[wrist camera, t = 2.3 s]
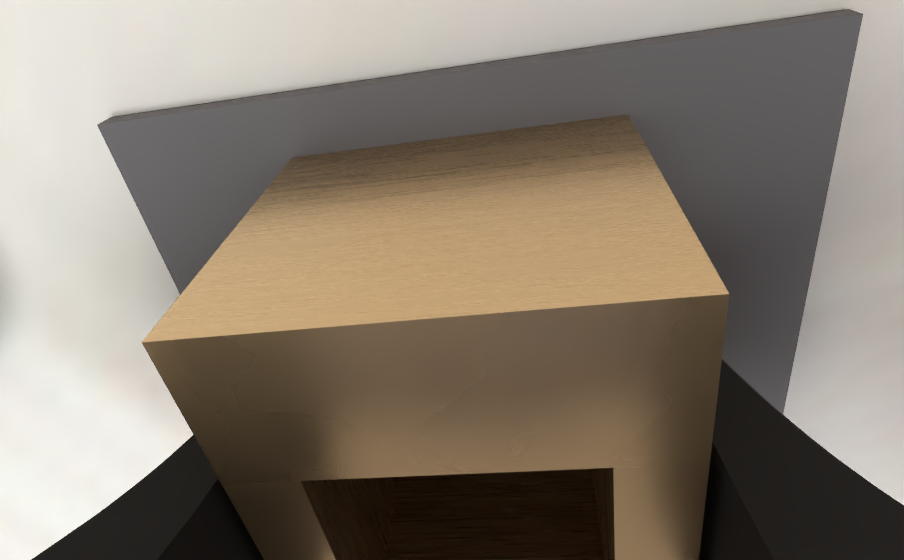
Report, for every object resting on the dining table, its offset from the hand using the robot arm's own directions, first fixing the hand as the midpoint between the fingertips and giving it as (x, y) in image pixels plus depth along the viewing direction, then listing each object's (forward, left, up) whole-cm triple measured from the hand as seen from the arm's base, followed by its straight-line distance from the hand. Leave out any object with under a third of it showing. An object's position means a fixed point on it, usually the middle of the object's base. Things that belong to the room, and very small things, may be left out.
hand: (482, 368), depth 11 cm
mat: (0, 0, -2) cm, 2 cm away
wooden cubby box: (0, 0, -1) cm, 1 cm away
